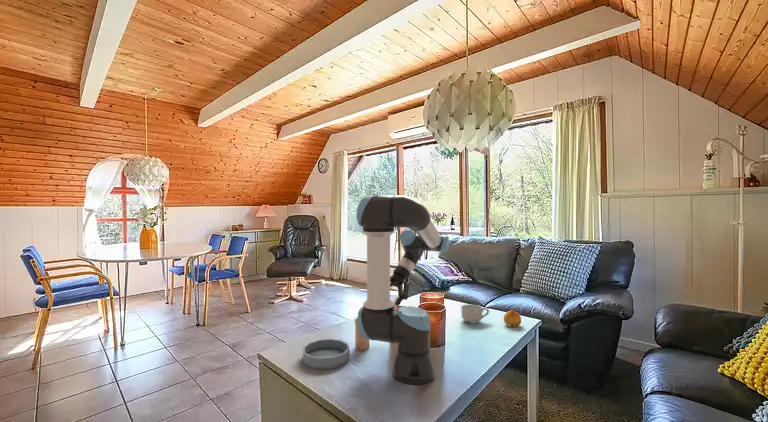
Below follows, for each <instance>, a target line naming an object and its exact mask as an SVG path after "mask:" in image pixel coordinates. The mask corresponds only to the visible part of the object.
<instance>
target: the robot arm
mask: <svg viewBox="0 0 768 422" xmlns="http://www.w3.org/2000/svg"><path fill="white" fill-rule="evenodd" d="M356 221H357V224H358V226H360V227H362V232H363V234H365V236H366V280H367V281H366V293H367V294H366V300H365V301H364V302H363V303H362V304H363V305H362V306H361V307H360V308H359V309H358V313H357V317H356V319H357V327H358V331H359V333H360V335H361V336H362V337H364V338H367V339H369V341H378V342H384V343H389V344H396V345H397V352H396V356H395V358H394V363H393V364H392V376H393V378H394V379H395V380H397V381H399V382H400V383H403V384H408V385H424V384H428V383H430V382H431V381H432V379H433V380H434V378H435V374H436V373H435V366H434V365H433V361H432V357H431V349H430V348H431V318H430V315H429V313H428V312H427V311H425V309H422V308H420V307H416V306H411V305H410V306H407V305H403V306H400V304H401V303H402V301H403V300H404V301H407V300H408V296H409V288H410V285H411V281H410V279H409V278H410V275H411V273H412V272H413V270H414V269H415V267H416V265H418V262H419V260H420V259H421V257H422V256H423V254H424V252H425V251H427V252H439V253H441V252H443V253H446V252H448V251H449V246H450V240H449V239H450V238H449V236H448V235H446V234H440V233H439V231H438V230H437V228H436V226H435V225H434V224H433V221H432V220H431V214H430V211H429V210H428V209H427V208H426V207H425V206H424V205H423V204H422V203H421V202H419V201H418V200H416V199H414V198H412V197H410V196H407V195H402V194H397V195H395V194H393V195H388V194H387V195H386V194H384V195H383V194H382V195H380V194H379V195H377V194H374V195H365V196H364V197H362V198H361V200H360V201H359V204H358V206H357V209H356ZM395 228H405V229H404V230H401V232H400V234H399V242H400V244H401V247H402V248H403V252H404V254H403V255H402V257H401V259H400V260H399V262H398V263H397V265H396V266H395V268H394V270H393V273H392V275H391V236H392V235H393V234H394V233H395ZM406 228H407V229H406ZM392 287H395V288H397V294H398V295H397V296H396V297H395V299H394V301H392V300H391V288H392ZM398 307H399V308H398ZM397 308H398V310H397Z"/></svg>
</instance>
